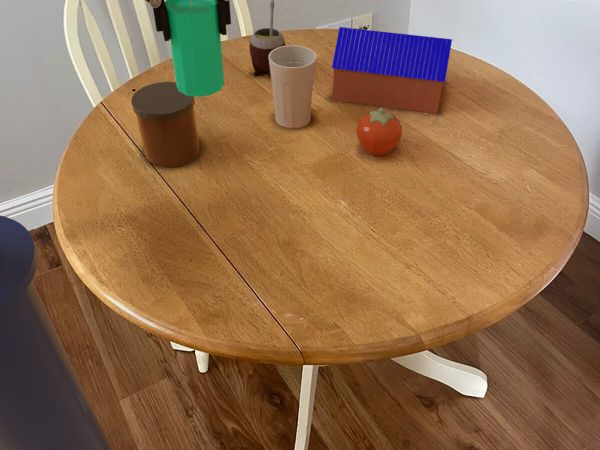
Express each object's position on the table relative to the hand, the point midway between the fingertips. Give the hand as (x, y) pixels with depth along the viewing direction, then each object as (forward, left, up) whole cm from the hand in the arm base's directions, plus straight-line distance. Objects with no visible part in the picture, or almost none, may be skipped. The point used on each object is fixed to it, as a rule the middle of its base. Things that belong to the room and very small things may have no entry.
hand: (194, 31), depth 69 cm
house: (+37, +24, -27) cm, 52 cm away
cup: (+17, +20, -27) cm, 38 cm away
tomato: (+28, +7, -27) cm, 40 cm away
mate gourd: (+17, +38, -27) cm, 50 cm away
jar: (-5, +16, -27) cm, 32 cm away
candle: (0, 0, -7) cm, 7 cm away
